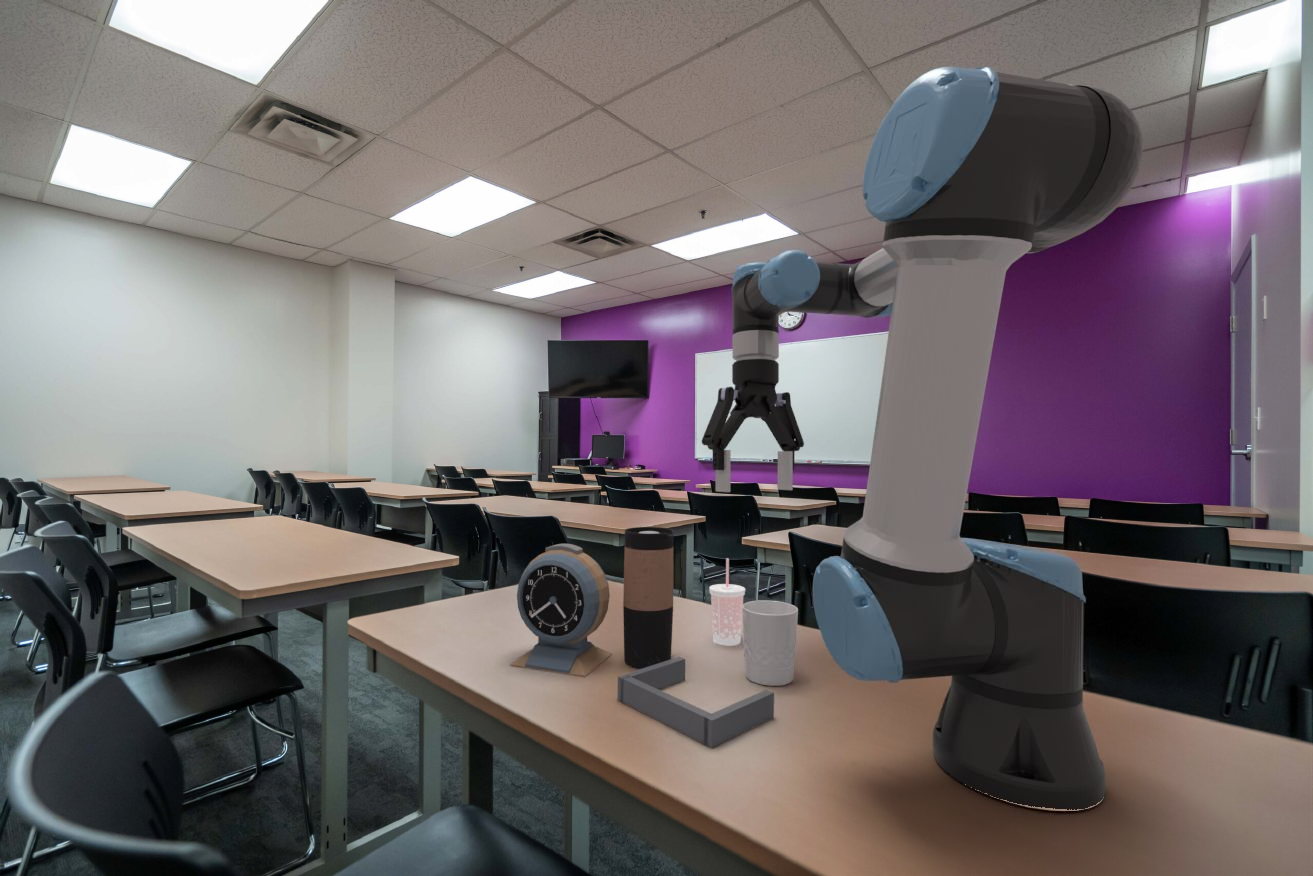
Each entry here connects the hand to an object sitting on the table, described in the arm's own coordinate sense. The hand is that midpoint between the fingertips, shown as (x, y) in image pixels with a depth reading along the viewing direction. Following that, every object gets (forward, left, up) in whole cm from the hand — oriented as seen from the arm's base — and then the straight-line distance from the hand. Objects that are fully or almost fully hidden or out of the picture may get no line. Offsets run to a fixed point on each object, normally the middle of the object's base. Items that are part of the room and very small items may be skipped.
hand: (755, 491), depth 97 cm
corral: (-16, +19, -26) cm, 36 cm away
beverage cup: (+5, +2, -26) cm, 27 cm away
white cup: (-11, +4, -26) cm, 28 cm away
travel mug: (+1, +18, -26) cm, 32 cm away
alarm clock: (+6, +30, -26) cm, 40 cm away
